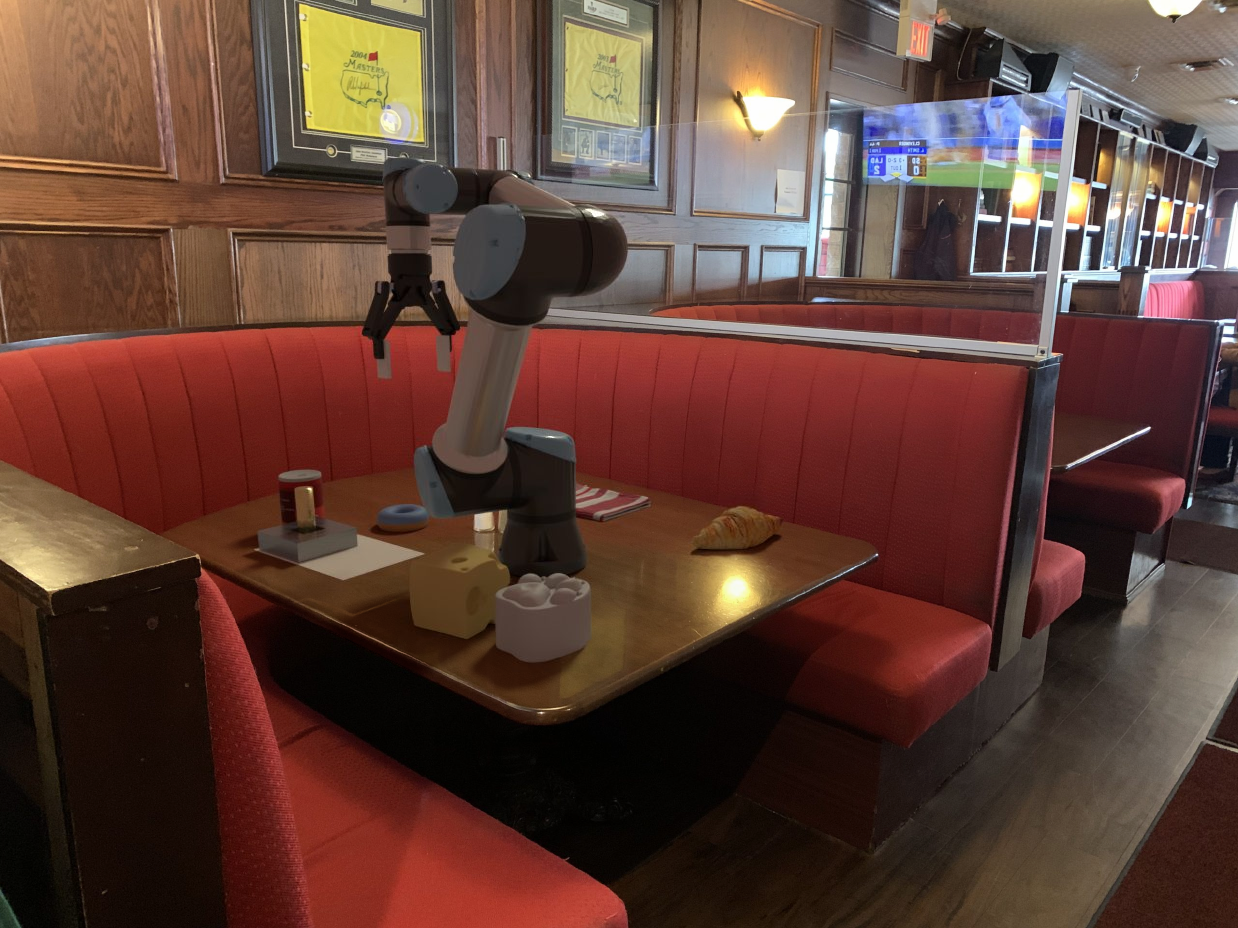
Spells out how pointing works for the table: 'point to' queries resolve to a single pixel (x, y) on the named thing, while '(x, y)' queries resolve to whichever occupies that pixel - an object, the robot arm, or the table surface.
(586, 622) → the lumpy-topped squat cylinder
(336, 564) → the mat
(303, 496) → the pin
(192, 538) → the table surface
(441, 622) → the cheese
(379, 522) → the doughnut
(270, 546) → the square hole block
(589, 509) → the dish towel
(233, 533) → the table surface
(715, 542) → the croissant
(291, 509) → the canned food
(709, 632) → the table surface
